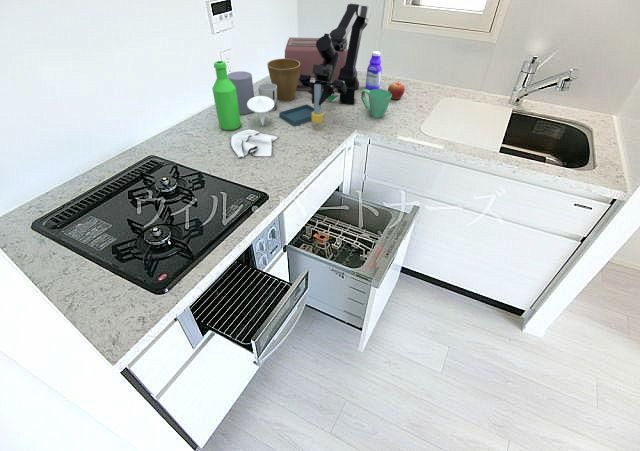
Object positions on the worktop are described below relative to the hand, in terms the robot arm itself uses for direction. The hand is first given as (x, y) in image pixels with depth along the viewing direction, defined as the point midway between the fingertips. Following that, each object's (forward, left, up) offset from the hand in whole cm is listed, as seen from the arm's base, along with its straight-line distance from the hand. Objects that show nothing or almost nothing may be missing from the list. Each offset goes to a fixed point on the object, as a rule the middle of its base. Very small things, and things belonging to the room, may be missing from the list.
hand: (315, 104), depth 131 cm
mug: (-24, -20, -11) cm, 33 cm away
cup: (+23, -19, -11) cm, 32 cm away
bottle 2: (-24, -52, -11) cm, 58 cm away
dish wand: (0, -1, -7) cm, 7 cm away
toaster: (+5, -53, -11) cm, 54 cm away
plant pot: (+18, -32, -11) cm, 38 cm away
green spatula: (0, -35, -11) cm, 36 cm away
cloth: (+22, +15, -11) cm, 29 cm away
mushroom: (+22, -2, -11) cm, 25 cm away
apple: (-35, -41, -11) cm, 54 cm away
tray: (+8, -12, -11) cm, 18 cm away
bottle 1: (+35, +1, -11) cm, 37 cm away
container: (+34, -16, -11) cm, 39 cm away
